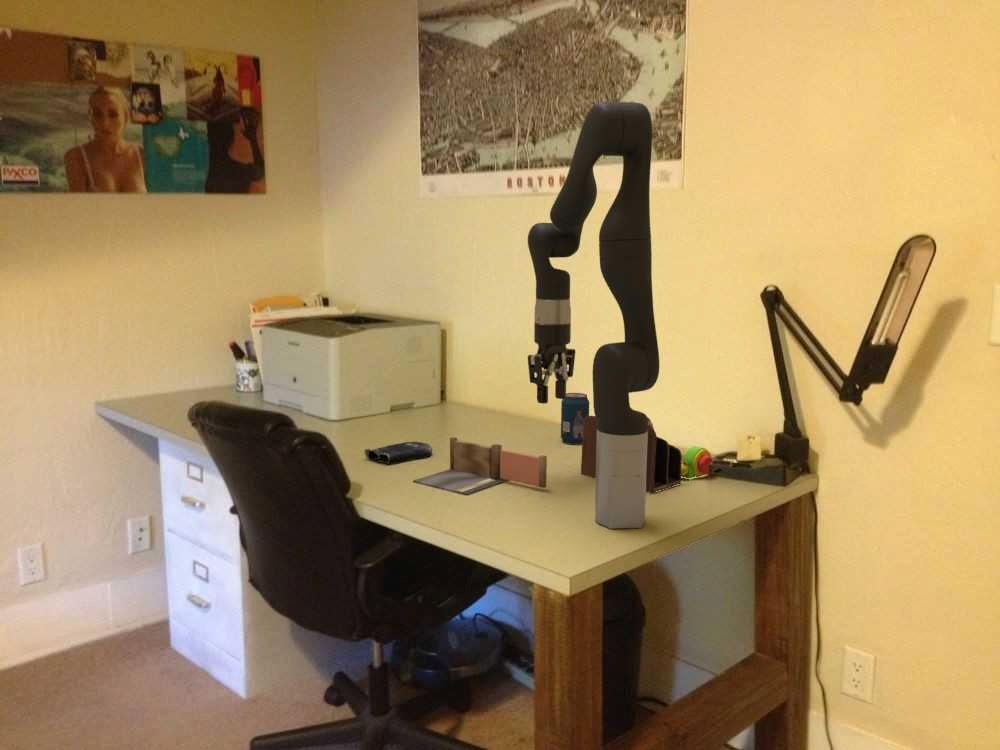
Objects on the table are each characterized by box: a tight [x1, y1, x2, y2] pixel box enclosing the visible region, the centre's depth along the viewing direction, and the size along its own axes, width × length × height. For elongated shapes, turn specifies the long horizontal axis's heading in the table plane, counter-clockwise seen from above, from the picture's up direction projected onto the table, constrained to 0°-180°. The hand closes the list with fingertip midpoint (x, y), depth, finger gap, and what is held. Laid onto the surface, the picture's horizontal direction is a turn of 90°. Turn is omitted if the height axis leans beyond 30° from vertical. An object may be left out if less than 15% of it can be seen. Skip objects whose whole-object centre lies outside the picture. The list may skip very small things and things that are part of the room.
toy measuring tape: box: [681, 445, 714, 478], centre depth 201 cm, size 6×20×7 cm, turn 130°
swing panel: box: [500, 449, 548, 489], centre depth 190 cm, size 12×2×6 cm, turn 51°
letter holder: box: [580, 415, 683, 494], centre depth 195 cm, size 10×20×14 cm, turn 42°
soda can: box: [560, 392, 590, 445], centre depth 228 cm, size 7×7×12 cm
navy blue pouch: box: [364, 441, 433, 466], centre depth 213 cm, size 9×6×15 cm
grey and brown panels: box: [413, 437, 510, 496], centre depth 194 cm, size 16×15×8 cm
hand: (551, 400), depth 191 cm, fingers open, 5 cm apart
